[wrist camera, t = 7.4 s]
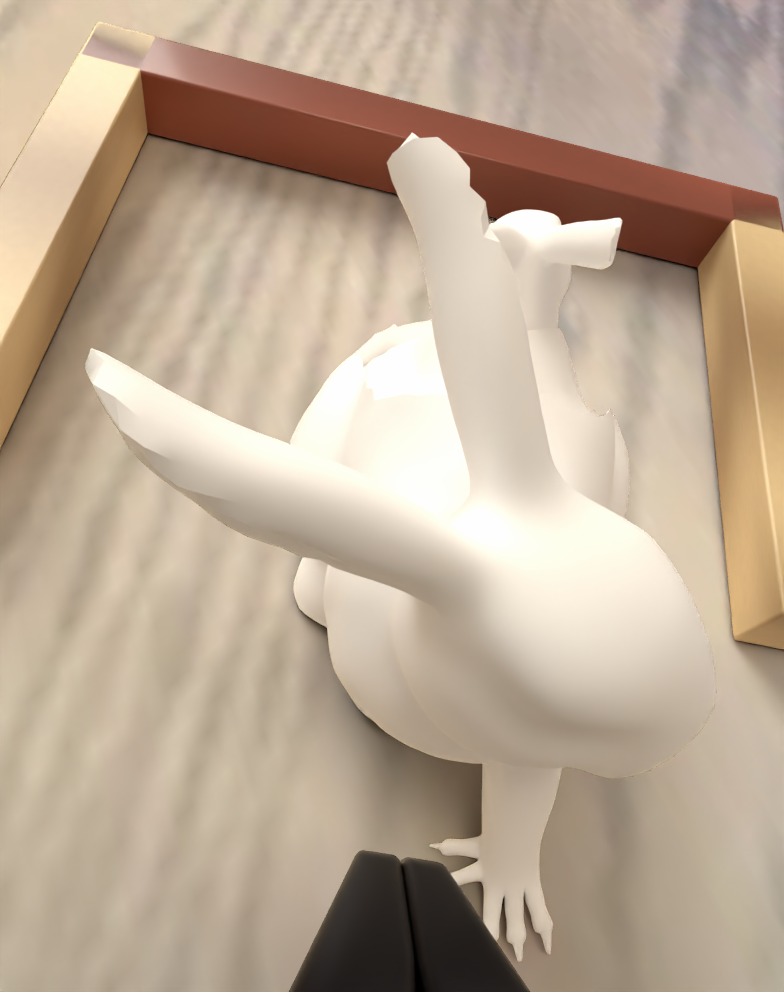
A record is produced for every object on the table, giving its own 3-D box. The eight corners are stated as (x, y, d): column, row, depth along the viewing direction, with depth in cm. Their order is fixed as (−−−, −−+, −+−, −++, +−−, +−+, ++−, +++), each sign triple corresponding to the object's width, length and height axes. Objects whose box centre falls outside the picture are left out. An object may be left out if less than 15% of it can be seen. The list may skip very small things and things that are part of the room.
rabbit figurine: (547, 971, 13) (1149, 1116, 4) (99, 900, 12) (-224, 908, 4) (565, 405, 19) (834, 1, 10) (265, 337, 18) (288, -156, 10)
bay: (799, 654, 16) (858, 629, 15) (-103, 477, 15) (-144, 427, 13) (741, 243, 23) (778, 195, 21) (107, 85, 21) (97, 20, 19)
